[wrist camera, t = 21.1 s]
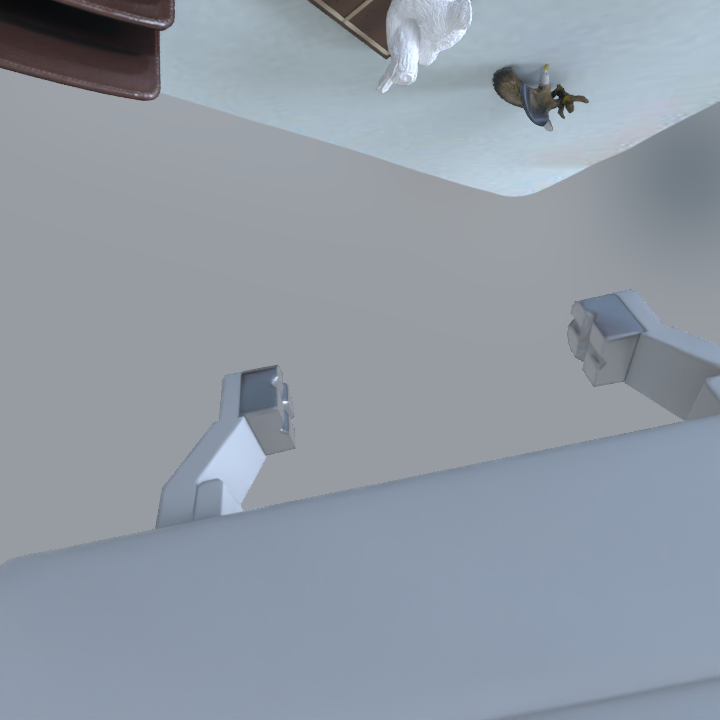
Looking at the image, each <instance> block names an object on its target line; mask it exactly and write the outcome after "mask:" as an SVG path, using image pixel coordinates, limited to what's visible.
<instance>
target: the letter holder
mask: <svg viewBox="0 0 720 720" xmlns="http://www.w3.org/2000/svg"><path fill="white" fill-rule="evenodd" d="M174 6H175V1H174V0H0V68H3V69H7V70H10V71H14V72H18V73H21V74H26V75H29V76H33V77H36V78H41V79H45V80H49V81H52V82H56V83H60V84H64V85H68V86H73V87H78V88H81V89H85V90H90V91H95V92H98V93H103V94H108V95H113V96H118V97H124V98H130V99H136V100H142V101H147V100H154V99H155V98H157V97H158V95H159V93H160V89H161V87H160V84H161V82H160V31H162V30H165V29H167V28H169V27H170V26H171V25H172V24H173V23H174V19H175V9H174Z"/></svg>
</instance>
